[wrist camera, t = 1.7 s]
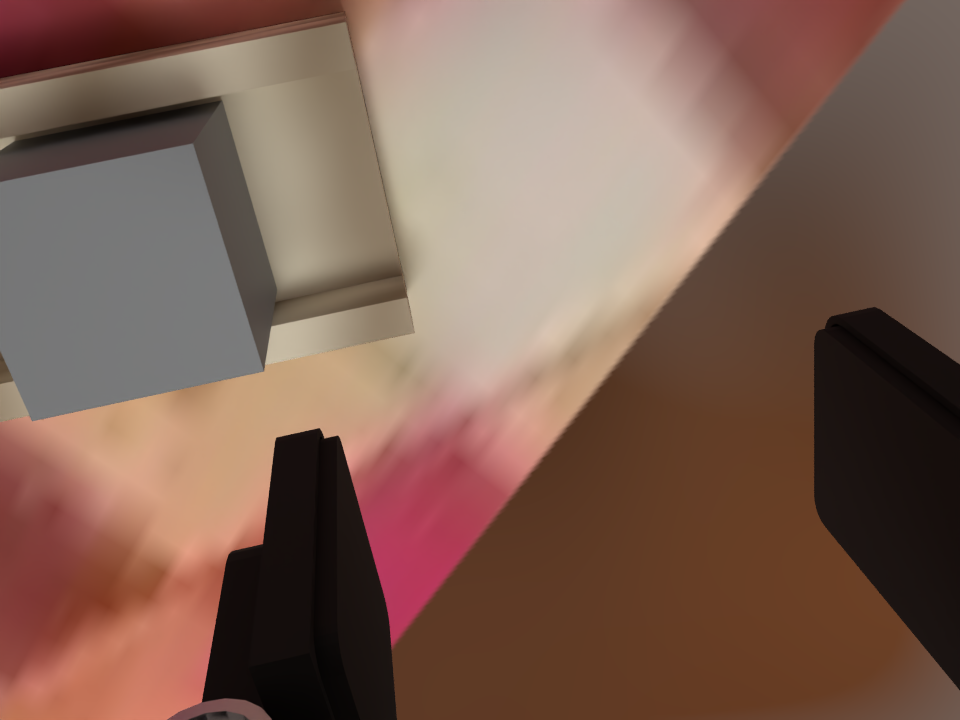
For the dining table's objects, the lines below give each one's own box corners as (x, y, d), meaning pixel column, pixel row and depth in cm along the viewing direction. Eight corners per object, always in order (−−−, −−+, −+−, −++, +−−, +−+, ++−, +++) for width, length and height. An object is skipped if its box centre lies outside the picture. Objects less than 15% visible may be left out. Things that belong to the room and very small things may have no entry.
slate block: (221, 100, 26) (193, 143, 21) (277, 289, 29) (264, 371, 23) (14, 141, 26) (-71, 196, 20) (89, 329, 28) (32, 420, 23)
